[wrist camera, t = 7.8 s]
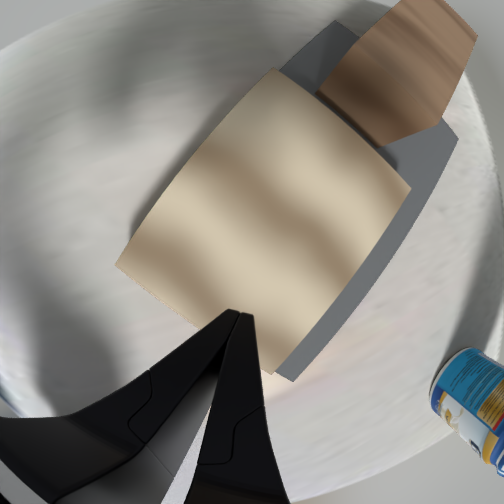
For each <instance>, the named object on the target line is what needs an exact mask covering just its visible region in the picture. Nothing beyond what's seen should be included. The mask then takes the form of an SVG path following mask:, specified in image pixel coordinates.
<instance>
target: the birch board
mask: <svg viewBox="0 0 504 504" xmlns="http://www.w3.org/2000/svg"><path fill="white" fill-rule="evenodd" d="M410 190H411V188H410V186H409V185H408V184H407V183H406V182H405V181H404V180H403V179H402V178H401V176H400V175H399V174H398V173H397V172H396V171H395V170H394V169H393V168H392V167H391V166H390V165H389V164H388V163H387V162H386V161H385V160H384V159H383V158H382V157H381V156H380V155H379V154H378V153H377V152H376V151H375V150H374V149H373V148H372V147H371V146H370V145H369V144H368V143H367V142H366V141H365V140H364V139H363V138H362V137H361V136H360V135H358V134H357V133H356V132H355V131H354V130H353V129H352V128H351V127H350V126H349V125H347V124H346V123H345V122H344V121H343V120H342V119H340V118H339V117H338V116H337V115H336V114H335V113H333V112H332V111H331V110H330V109H329V108H327V107H326V106H325V105H324V104H322V103H321V102H320V101H319V100H317V99H316V98H315V97H314V96H312V95H311V94H310V93H308V92H307V91H306V90H304V89H303V88H302V87H300V86H299V85H298V84H296V83H295V82H294V81H292V80H291V79H289V78H288V77H287V76H285V75H284V74H282V73H281V72H279V71H278V70H277V69H275V68H274V67H273V68H272V69H271V70H270V71H269V72H268V73H267V74H266V75H264V76H263V77H262V78H261V79H260V80H259V81H258V82H257V83H256V84H255V86H254V87H253V88H252V89H251V90H250V91H249V92H248V93H247V94H246V95H245V96H244V97H243V98H242V99H241V100H240V101H239V102H238V103H237V104H236V105H235V107H234V108H233V109H232V110H231V111H230V112H229V113H228V114H227V115H226V116H225V118H224V119H223V120H222V121H221V122H220V123H219V124H218V125H217V127H216V128H215V129H214V130H213V131H212V132H211V133H210V135H209V136H208V137H207V138H206V139H205V141H204V142H203V143H202V144H201V145H200V146H199V148H198V149H197V150H196V151H195V153H194V154H193V155H192V156H191V157H190V159H189V160H188V161H187V162H186V164H185V165H184V166H183V168H182V169H181V170H180V171H179V173H178V174H177V175H176V177H175V178H174V179H173V180H172V182H171V183H170V184H169V186H168V187H167V188H166V190H165V191H164V192H163V194H162V195H161V197H160V198H159V199H158V201H157V202H156V203H155V205H154V206H153V208H152V209H151V210H150V212H149V213H148V215H147V216H146V218H145V219H144V220H143V222H142V223H141V225H140V226H139V228H138V229H137V231H136V232H135V234H134V235H133V237H132V238H131V240H130V241H129V243H128V244H127V246H126V247H125V249H124V251H123V252H122V254H121V255H120V257H119V258H118V260H117V262H116V263H115V266H116V267H117V268H119V269H120V270H121V271H122V272H124V273H125V274H126V275H127V276H129V277H130V278H131V279H132V280H134V281H135V282H136V283H137V284H139V285H140V286H141V287H142V288H144V289H145V290H146V291H148V292H149V293H150V294H152V295H153V296H154V297H155V298H157V299H158V300H159V301H161V302H162V303H163V304H165V305H166V306H168V307H169V308H170V309H172V310H173V311H174V312H176V313H177V314H179V315H180V316H181V317H183V318H184V319H186V320H187V321H188V322H190V323H191V324H193V325H194V326H196V327H197V328H198V329H200V330H201V329H202V328H203V327H205V326H206V325H207V324H208V323H210V322H211V321H212V320H214V319H215V318H216V317H217V316H219V315H220V314H221V313H222V312H224V311H225V310H226V309H234V310H238V311H240V313H241V312H246V313H250V314H253V315H254V319H255V328H256V337H257V345H258V354H259V362H260V368H261V369H262V370H264V371H266V372H267V373H269V374H271V375H272V374H273V373H274V372H275V370H276V369H277V368H278V367H279V366H280V365H281V364H282V363H283V362H284V361H285V359H286V358H287V357H288V356H289V355H290V354H291V353H292V351H293V350H294V349H295V348H296V347H297V346H298V345H299V343H300V342H301V341H302V340H303V339H304V338H305V336H306V335H307V334H308V333H309V332H310V330H311V329H312V328H313V327H314V326H315V324H316V323H317V322H318V321H319V319H320V318H321V317H322V316H323V314H324V313H325V312H326V311H327V309H328V308H329V307H330V306H331V304H332V303H333V302H334V301H335V299H336V298H337V297H338V295H339V294H340V293H341V292H342V290H343V289H344V288H345V286H346V285H347V284H348V282H349V281H350V280H351V278H352V277H353V276H354V274H355V273H356V271H357V270H358V269H359V267H360V266H361V265H362V263H363V262H364V260H365V259H366V258H367V256H368V255H369V253H370V252H371V250H372V249H373V247H374V246H375V245H376V243H377V242H378V240H379V239H380V237H381V236H382V234H383V233H384V231H385V230H386V228H387V227H388V225H389V224H390V222H391V221H392V219H393V218H394V216H395V214H396V213H397V211H398V210H399V208H400V207H401V205H402V203H403V202H404V200H405V198H406V197H407V195H408V194H409V192H410Z"/></svg>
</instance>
